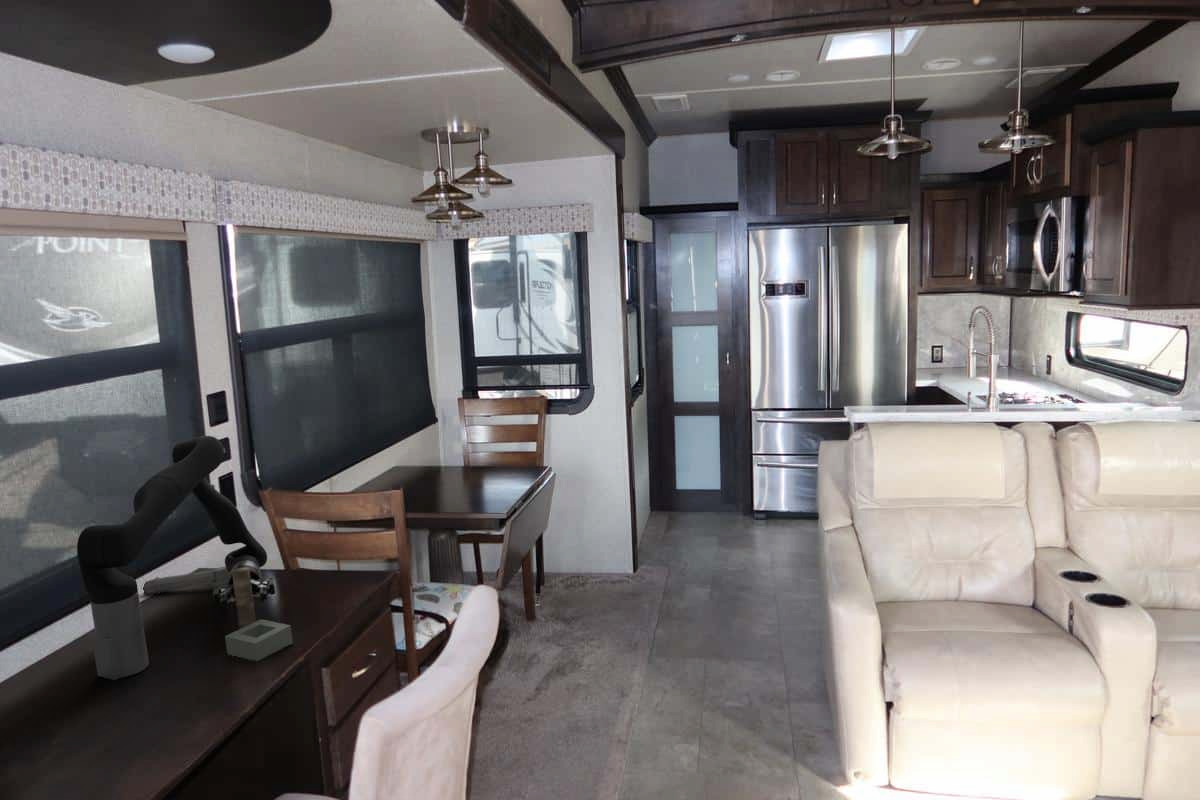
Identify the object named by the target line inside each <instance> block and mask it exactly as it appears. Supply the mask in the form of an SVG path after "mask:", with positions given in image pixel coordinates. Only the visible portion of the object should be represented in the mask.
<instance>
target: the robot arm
mask: <svg viewBox="0 0 1200 800" xmlns="http://www.w3.org/2000/svg"><path fill="white" fill-rule="evenodd" d="M171 455H172V456H171V457H172V461H173V464H171V465H170V466H168V467H166V468H165V469H162V470H161V471H159V472H157V473H156V474H154V475H153V476H151V477H150V478H149V479H148V480H147V481H145V483H144V484H142V486H140V488H139V489H138V490H137V491H136V493H135V495H134V497H133V511H134V515H132V516H131V517H130V518H129V519H128V520H126V521H124V522H123V523H118V524H101V525H100V524H99V525H97V524H95V525H90V526H87V527H85V528H84V529H83V530H82V531H81V532H80V534H79V536H78V539H77V542H76V543H77V544H76V555H77V559H78V561H77V562H78V565H79V570H80V573H81V578H82V581H83V582H82V583H83V586H84V590H85V592H87V595H88V596H89V603H90V606H91V614H92V615H91V616H92V620H93V627H94V632H95V633H93V634H92V635H91V642H92V647H93V653H94V660H95V666H96V673H97V676H98V677H101V678H104V679H109V680H111V681H117V680H118V679H122V678H126V677H130V676H133V675H136V674H137V673H140V672H142V671H144V670H146V669H147V668H148V667H149V665H150V661H149V653H148V648H147V641H146V636H145V628H144V622H143V616H142V615H143V614H142V608H141V601H140V596H139V595H140V594H139V589H138V588H139V587H138V583H137V581H136V579H135V578H134V577H132V576H130V575H127V574H125V573H123V572H120V571H119V570H117V569H116V568H121V567H126V566H128V565H130V564H132V562H134V561H135V559H137V558H138V556H139V555H140V554H141V552H142V551H143V550H144V548H145V546H146V545H147V544H148V542H149V541H150V539H152V536H153V535H154V534H155V532H157V530H158V529H160V527H161V525H162V524H163V523H164V522H165V521H166V520H167V518H168V517H170V515H171V514H172V513H173V512H174V511H176V509H177V508H178V507H179V506H180V505H181V504H182V502H183V501H184V500H185V499H186V498H187V497H189V495H190V494H191V493H192V494H193V495H194V497H195V498H196V499H197V500H198V501H199V503H200V504H201V506H202V507H203V509H204V510H205V511H206V514H207V515H208V516H209V519H210V520H211V523H212V525H213V527H214V529H215V531H216V533H217V535H218V537H219V539H220V541H221V543H222V544H224V545H226V546H228V545H234V544H242V545H245V546H242V547H239V548H237V549H235V550H233V551H230V552H229V553H228V554H227V555H225V557H224V566H226V568H227V570H228V572H229V573H230V576H229V585H228V586H227V587H226V589H221V588H219V587H216V586H215V587H214V588H213V592H212V600H213V605H214V606H215V605H216V606H217V605H219V604H220V607H221V608H223V609H228V608H229V606H228V605H229V603H233V602H236V598H235V591H234V583H233V576H232V571H233V570H235V569H238V568H249V571H250V579H251V587H252V595H253V597H256V598H260V602H261V603H264V602H265V600H267V599H268V596H269V594H270V595H271V596H272V595H275V594H276V587H275V586H276V585H275V579H274V576H273V577H268V579H266V581H263V580H262V573H261V568H262V567H264V566H265V565H266V564H267V561H268V553H267V551H266V550H265V548H264V547H263V546H262V545H261V544H260V542H258V540H257V539H255V537H254V536H253V535H252V533H251V532H250V531H249V530H248V528H247V525H246V524H245V521H244V520H243V517H242V515H241V513H240V511H239V509H238V508H237V506H236V505H235V504H234V503H233V502H232V501H231V500H230V499H229V498H227V497H226V496H225V495H223V494H222V493H221V492H220V491H218V490H217V489H215V488H214V487H213V486H212V485H211V484H210V483H209V481H208V480H207V478H206V477H208V476H209V475H210V474H211V473H213V472H214V471H215V470H217V468H219V467H220V465H221V464H222V462H223V460H224V457H225V456H224V455H225V449H224V445H223V443H222V442H221V441H220V440H219V439H218V438H217V437H215V436H211V435H202V436H199V437H198V436H197V437H195V438H190V439H188V440H185V441H182V442H179V443H177V444H175V446H174V447H173V449H172V454H171Z"/></svg>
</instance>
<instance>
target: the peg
mask: <svg viewBox="0 0 1200 800" xmlns="http://www.w3.org/2000/svg"><path fill="white" fill-rule="evenodd" d="M232 576H233V583H234V591H235V598H236V600H235V606H236V612H237V621H238V626H239V629H241V628H243V627H245V626H248V625H250V624H252V623H254V622H256V621H257V620H256V610H255V604H254V603H255V602H254V596H253V595H252V587H251V579H250V571H249V568H238V569H235V570H233V571H232ZM239 629H238V630H239Z"/></svg>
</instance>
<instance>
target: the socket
mask: <svg viewBox="0 0 1200 800" xmlns="http://www.w3.org/2000/svg"><path fill="white" fill-rule="evenodd" d="M224 640H225V646H226V654H229V655H228V656H230V655H232V656H231V657H234V656H237V657H236V658H238V657H241V658H240V659H242V658H247V659H251V660H256V661H258V660H260V659H262V658H264V657H266V656H268V655H269V654H272V653H274V652H276V651H278V650H280V649H282V648H283V647H286V646H288V645H290V646H292V645H293V644H294V643H293V642H294V641H293V634H292V627H291V625H290V624H285V623H281V622H275V621H272V620H266V619H258V620H256V622H254V623H252V624H250V625H248V626H245V627H243V628H241V629H238V630H235V631H233V632H231V633H229V634H227V635H225V636H224ZM291 644H292V645H291ZM288 647H289V646H288ZM286 648H287V647H286ZM282 650H283V649H282ZM280 651H281V650H280ZM278 652H279V651H278ZM276 653H277V652H276Z"/></svg>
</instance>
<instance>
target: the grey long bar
mask: <svg viewBox="0 0 1200 800" xmlns="http://www.w3.org/2000/svg"><path fill="white" fill-rule="evenodd" d="M229 576H230V573H229V572H228V570H227V568H226V566H225V565H224V566H220V567H218V568H216V569H212V570H207V571H199V572H191V573H185V574H178V575H171V576H164V577H163V576H162V577H159V576H156V577H155V578H153V579H149V581H147V580H146V581H147V582H145V584H144V587H143V590H144V593H145V594H147V595H148V596H149V595H155V594H157V595H159V594H160V593H159V592H161V593H164V592H163V591H165V592H168V591H169V592H170V591H173V590H179V589H183V588H187V587H188V588H189V587H192V586H198V585H203V584H206V583H212V582H213V583H212V584H213V585H214V586H215V587H219V588H221V589H226V587H227V586H228V585H229ZM158 593H159V594H158ZM145 594H144V595H145Z"/></svg>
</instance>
